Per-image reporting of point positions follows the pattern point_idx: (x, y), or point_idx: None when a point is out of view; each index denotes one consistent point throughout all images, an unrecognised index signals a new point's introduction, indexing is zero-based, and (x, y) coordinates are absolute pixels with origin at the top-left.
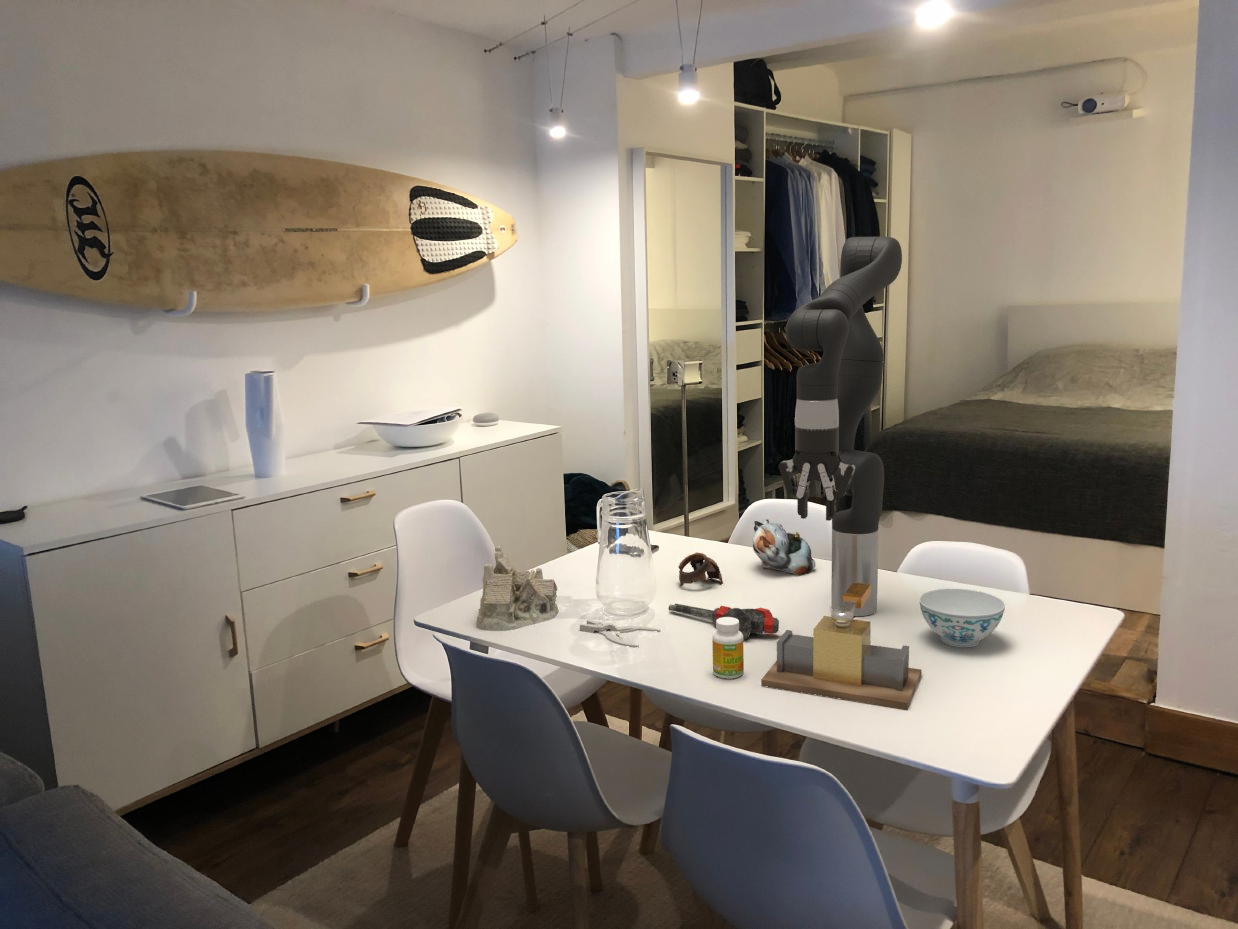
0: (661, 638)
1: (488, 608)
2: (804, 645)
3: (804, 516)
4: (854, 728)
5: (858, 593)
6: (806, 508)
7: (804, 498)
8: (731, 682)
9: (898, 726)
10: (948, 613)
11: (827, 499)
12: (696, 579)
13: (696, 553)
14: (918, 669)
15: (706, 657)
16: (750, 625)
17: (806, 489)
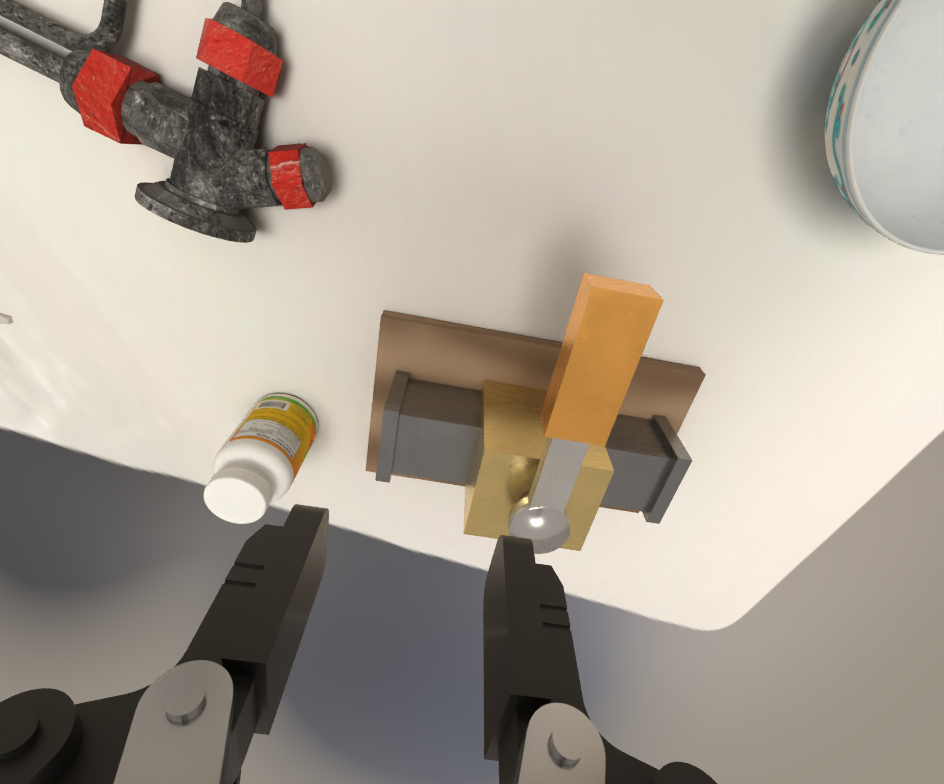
0: (23, 246)
1: None
2: (441, 472)
3: (320, 581)
4: (541, 562)
5: (600, 408)
6: (306, 588)
7: (259, 716)
8: (307, 455)
9: (610, 549)
10: (901, 245)
11: (496, 734)
12: None
13: None
14: (698, 375)
15: (203, 349)
16: (248, 236)
17: (218, 781)
